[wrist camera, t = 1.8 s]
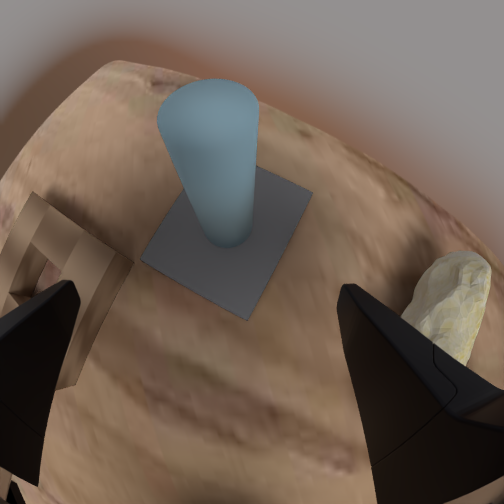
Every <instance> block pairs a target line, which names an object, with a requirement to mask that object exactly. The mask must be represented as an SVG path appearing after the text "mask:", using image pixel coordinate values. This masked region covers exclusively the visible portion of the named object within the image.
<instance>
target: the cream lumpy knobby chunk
mask: <svg viewBox="0 0 504 504" xmlns="http://www.w3.org/2000/svg"><path fill="white" fill-rule="evenodd" d="M490 279H491V266H490V265H489V264H488V263H487V261H486V260H485V259H483V258H482V257H481V256H480V255H479V254H477V253H475V252H472V251H457V252H450V253H449V254H447V255H446V256H444V257H441V258H438V259H436V260H435V262H434V263H433V264H432V266H431V267H429V268H428V269H427V270H426V271H425V272H424V274H423V275H422V277H421V278H420V280H419V281H418V283H417V285H416V287H415V289H414V294H413V299H412V302H411V303H410V304H409V305H408V306H407V308H406V309H405V311H404V312H403V314H402V315H401V318H402V319H404V320H405V321H406V322H408V323H409V324H410V325H412V326H413V327H414V328H416V329H417V330H418V331H419V332H421V333H422V334H423V335H425V336H426V337H427V338H428V339H430V340H431V341H432V342H433V344H434V343H435V344H436V345H437V346H439V347H440V348H441V349H443V350H444V351H445V352H446V353H448V354H449V355H450V356H452V357H453V358H454V359H456V360H457V361H459V362H460V363H461V364H463V365H464V366H466V363H467V361H468V359H469V358H470V354H471V350H472V347H473V344H474V341H475V338H476V336H477V334H478V331H479V327H480V324H481V321H482V318H483V314H484V311H485V307H486V301H487V297H488V294H489V289H490Z"/></svg>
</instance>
